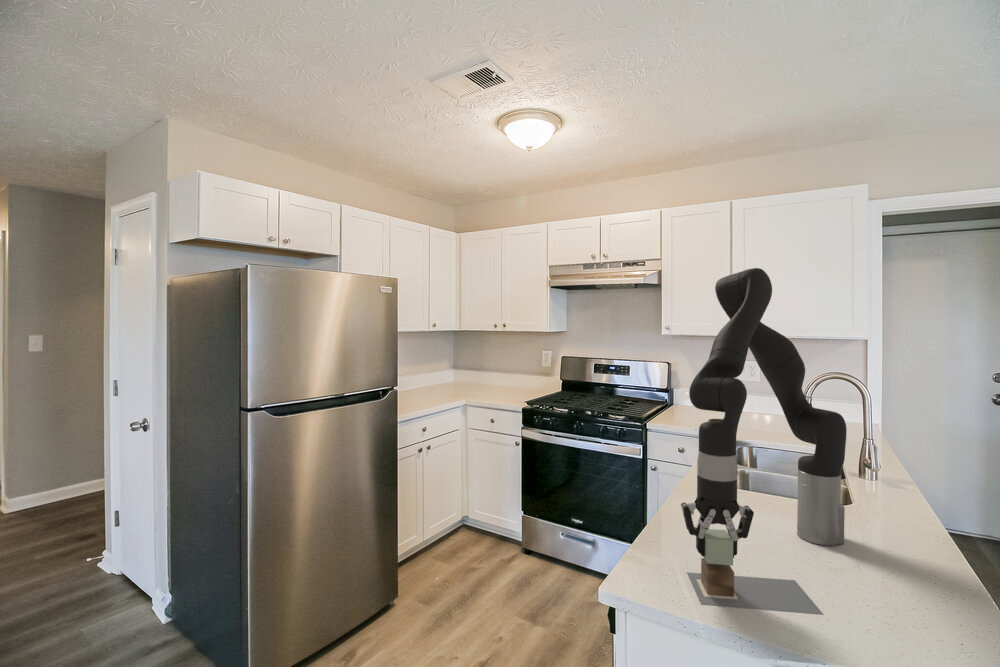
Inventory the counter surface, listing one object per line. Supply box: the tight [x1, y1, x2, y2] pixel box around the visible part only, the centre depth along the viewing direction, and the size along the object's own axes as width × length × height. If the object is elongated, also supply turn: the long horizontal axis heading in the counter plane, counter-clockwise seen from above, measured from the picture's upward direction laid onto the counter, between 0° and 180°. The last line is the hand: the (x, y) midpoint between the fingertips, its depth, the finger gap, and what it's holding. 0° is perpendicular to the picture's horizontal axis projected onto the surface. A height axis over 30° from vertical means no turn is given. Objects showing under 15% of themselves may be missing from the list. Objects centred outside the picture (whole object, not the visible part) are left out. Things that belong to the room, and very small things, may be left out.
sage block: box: [702, 528, 734, 566], centre depth 98 cm, size 5×5×5 cm
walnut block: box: [700, 557, 735, 597], centre depth 98 cm, size 5×5×5 cm
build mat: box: [686, 571, 825, 615], centre depth 98 cm, size 22×12×1 cm, turn 81°
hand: (716, 554), depth 98 cm, fingers closed on sage block, 5 cm apart
